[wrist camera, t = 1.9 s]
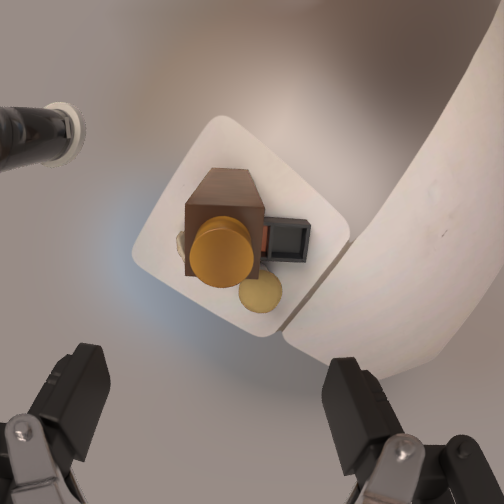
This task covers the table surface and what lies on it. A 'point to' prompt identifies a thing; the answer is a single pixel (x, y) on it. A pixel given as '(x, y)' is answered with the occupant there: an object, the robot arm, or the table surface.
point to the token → (222, 252)
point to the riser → (225, 209)
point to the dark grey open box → (285, 239)
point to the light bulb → (261, 292)
